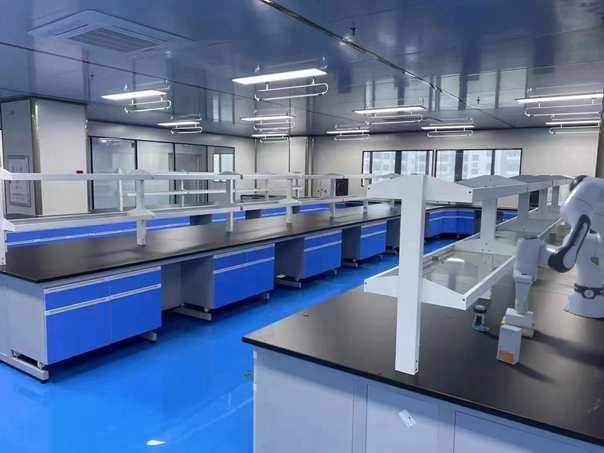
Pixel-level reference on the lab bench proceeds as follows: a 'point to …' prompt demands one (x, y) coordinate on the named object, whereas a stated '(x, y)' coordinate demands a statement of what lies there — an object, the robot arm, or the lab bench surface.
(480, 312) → the push button
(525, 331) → the maple base block
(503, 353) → the skincare box
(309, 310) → the lab bench surface
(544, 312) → the lab bench surface
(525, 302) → the pale blue egg shape
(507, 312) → the white top block
